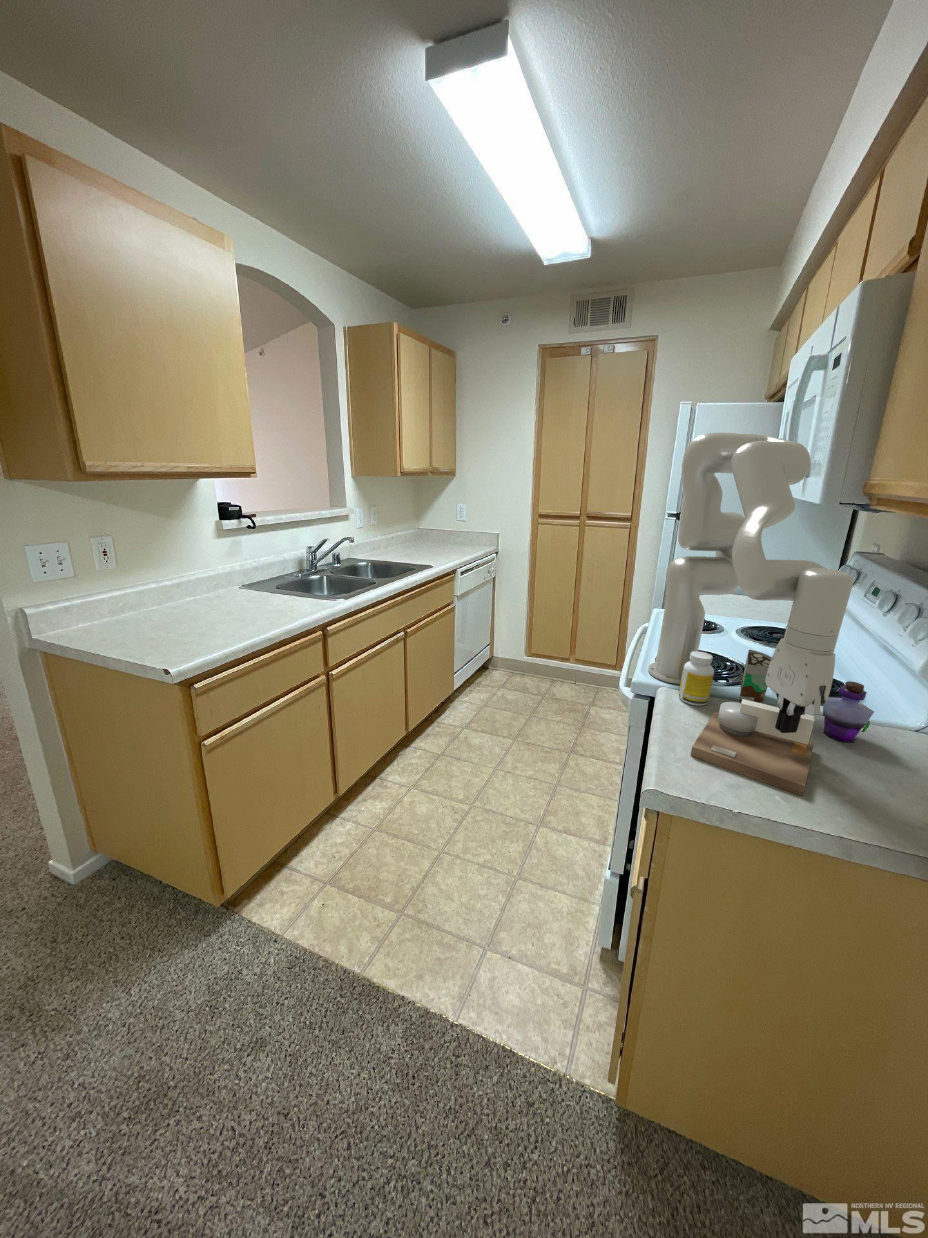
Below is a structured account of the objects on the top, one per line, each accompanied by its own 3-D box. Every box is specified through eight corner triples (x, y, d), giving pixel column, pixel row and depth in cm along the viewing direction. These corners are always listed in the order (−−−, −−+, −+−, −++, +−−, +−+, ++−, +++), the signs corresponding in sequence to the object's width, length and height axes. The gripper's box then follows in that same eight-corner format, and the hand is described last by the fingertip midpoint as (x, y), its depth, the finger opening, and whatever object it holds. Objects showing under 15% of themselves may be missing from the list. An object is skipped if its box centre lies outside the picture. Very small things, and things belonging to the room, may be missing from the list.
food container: (769, 711, 111) (779, 671, 108) (738, 704, 114) (748, 665, 111) (768, 691, 122) (777, 654, 119) (740, 685, 125) (748, 648, 121)
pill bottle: (711, 708, 112) (721, 661, 108) (681, 705, 113) (690, 658, 109) (703, 695, 118) (712, 651, 114) (675, 692, 119) (683, 648, 115)
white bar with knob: (715, 725, 98) (720, 703, 96) (719, 711, 104) (724, 690, 102) (808, 750, 90) (815, 726, 89) (806, 733, 96) (813, 711, 94)
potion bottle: (870, 751, 97) (888, 697, 93) (818, 740, 100) (833, 687, 96) (859, 731, 104) (875, 680, 100) (811, 721, 107) (825, 671, 104)
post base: (713, 720, 107) (715, 707, 106) (811, 751, 96) (815, 737, 95) (690, 755, 93) (693, 741, 92) (802, 796, 83) (806, 781, 82)
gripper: (761, 625, 93) (741, 711, 98) (824, 655, 78) (797, 754, 84) (797, 625, 93) (775, 710, 99) (866, 654, 79) (836, 752, 85)
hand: (785, 730), depth 92 cm, fingers closed
